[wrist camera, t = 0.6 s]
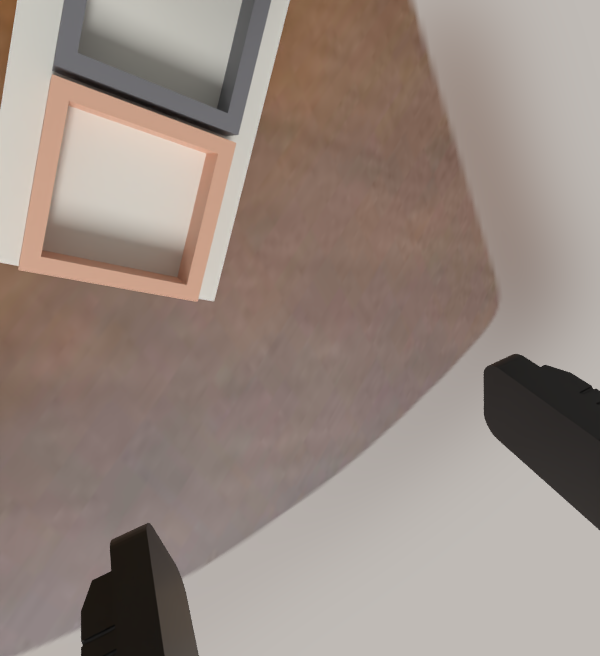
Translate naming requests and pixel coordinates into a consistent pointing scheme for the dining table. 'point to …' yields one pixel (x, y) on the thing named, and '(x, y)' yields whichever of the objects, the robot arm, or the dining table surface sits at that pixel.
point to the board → (131, 137)
